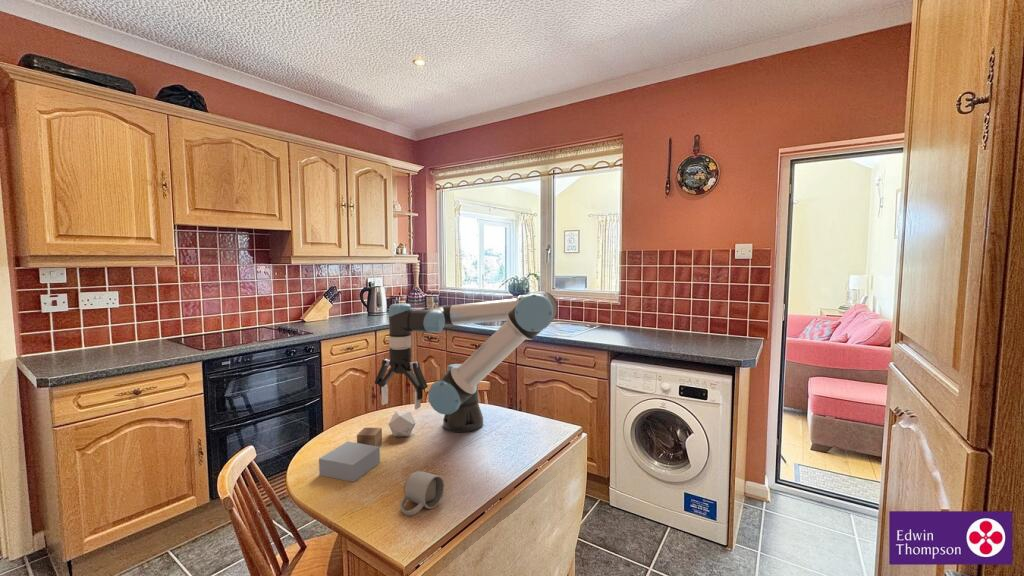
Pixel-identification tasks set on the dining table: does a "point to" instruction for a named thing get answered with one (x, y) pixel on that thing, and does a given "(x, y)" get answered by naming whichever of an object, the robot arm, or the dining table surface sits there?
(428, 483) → the ceramic mug
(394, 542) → the dining table surface
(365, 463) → the plinth
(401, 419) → the die
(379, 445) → the walnut cube
